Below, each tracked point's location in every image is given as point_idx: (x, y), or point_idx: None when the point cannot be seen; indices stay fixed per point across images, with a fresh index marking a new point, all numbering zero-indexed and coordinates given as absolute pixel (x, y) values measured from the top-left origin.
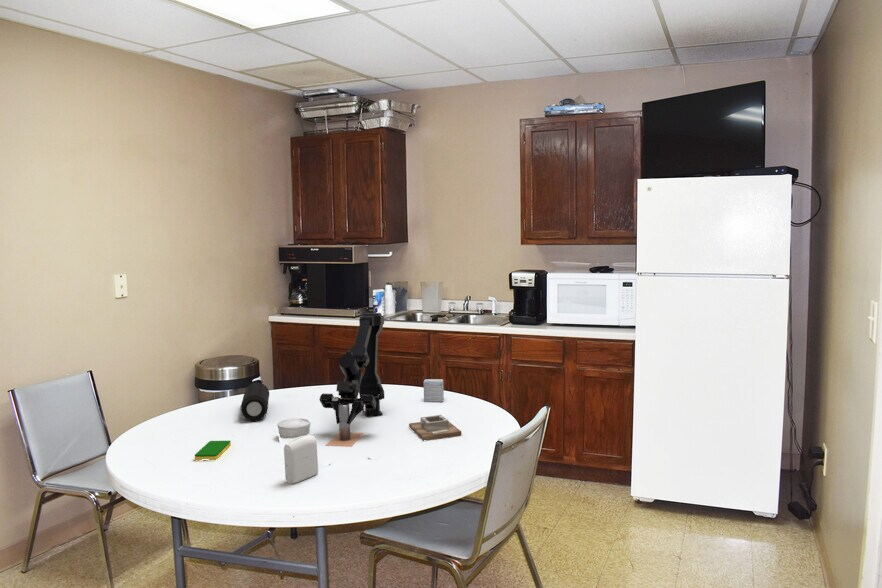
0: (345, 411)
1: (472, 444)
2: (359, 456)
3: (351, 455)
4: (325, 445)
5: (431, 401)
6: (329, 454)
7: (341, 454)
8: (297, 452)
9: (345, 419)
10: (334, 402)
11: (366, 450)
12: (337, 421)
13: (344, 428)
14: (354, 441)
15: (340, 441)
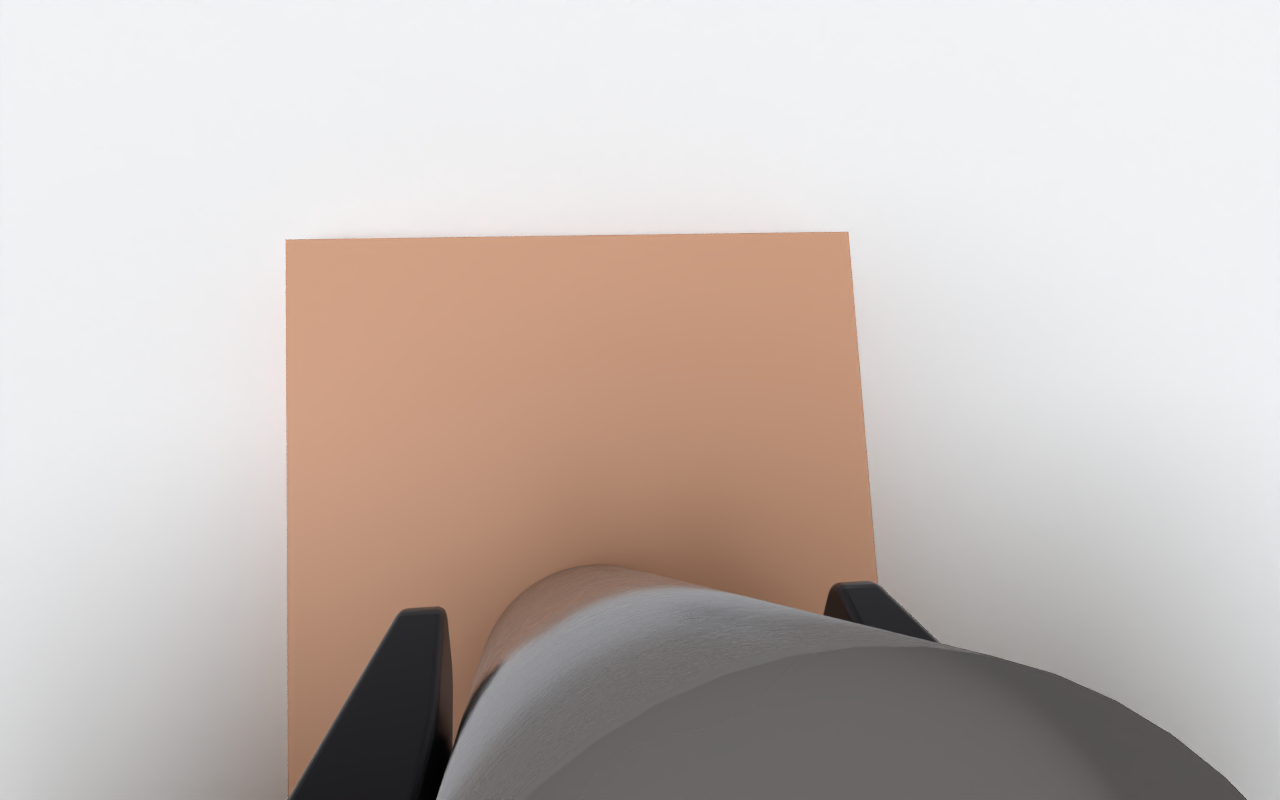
0: (543, 681)
1: None
2: (65, 25)
3: (239, 59)
4: (847, 243)
5: None
6: (660, 64)
7: (445, 87)
8: None
9: (547, 628)
10: None
11: (14, 352)
12: (859, 602)
13: (574, 582)
14: (330, 570)
15: (642, 518)
